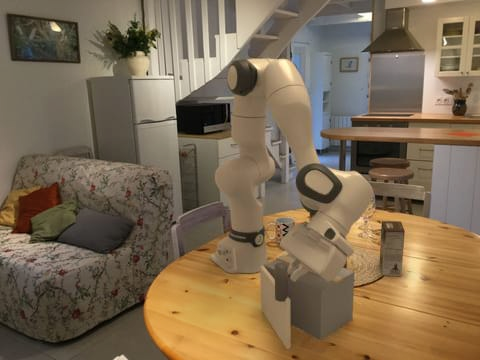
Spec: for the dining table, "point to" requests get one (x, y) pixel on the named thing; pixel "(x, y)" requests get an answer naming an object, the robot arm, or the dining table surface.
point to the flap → (276, 300)
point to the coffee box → (391, 248)
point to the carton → (318, 300)
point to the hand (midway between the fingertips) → (289, 278)
